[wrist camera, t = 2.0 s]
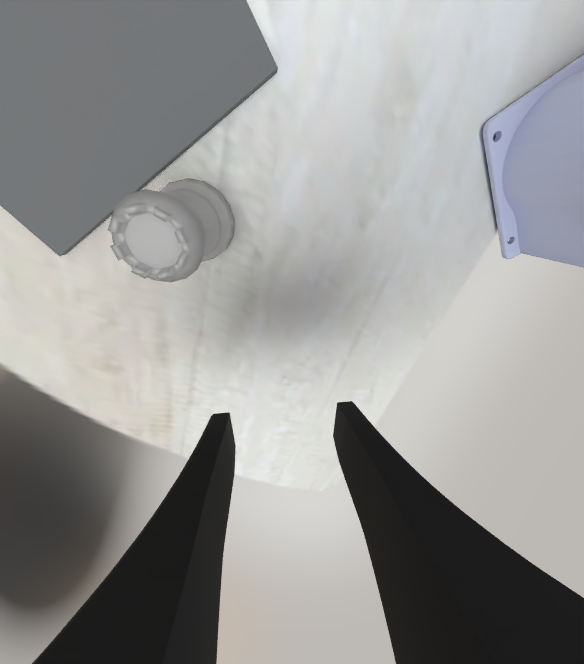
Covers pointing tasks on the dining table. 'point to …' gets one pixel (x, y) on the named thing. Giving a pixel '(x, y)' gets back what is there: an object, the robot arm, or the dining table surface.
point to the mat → (112, 99)
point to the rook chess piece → (171, 229)
